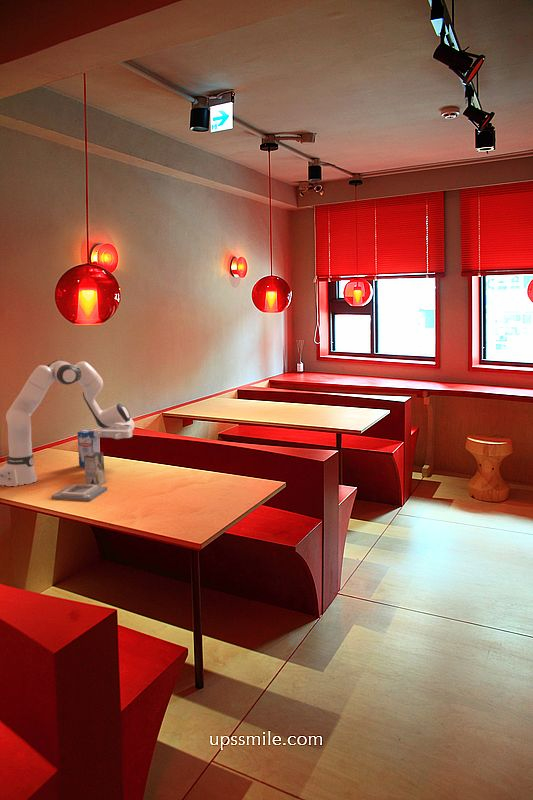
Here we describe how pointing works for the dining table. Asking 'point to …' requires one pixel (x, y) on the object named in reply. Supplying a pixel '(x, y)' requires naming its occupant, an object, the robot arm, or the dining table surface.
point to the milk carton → (87, 445)
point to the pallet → (80, 492)
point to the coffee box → (94, 468)
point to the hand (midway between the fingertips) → (106, 436)
